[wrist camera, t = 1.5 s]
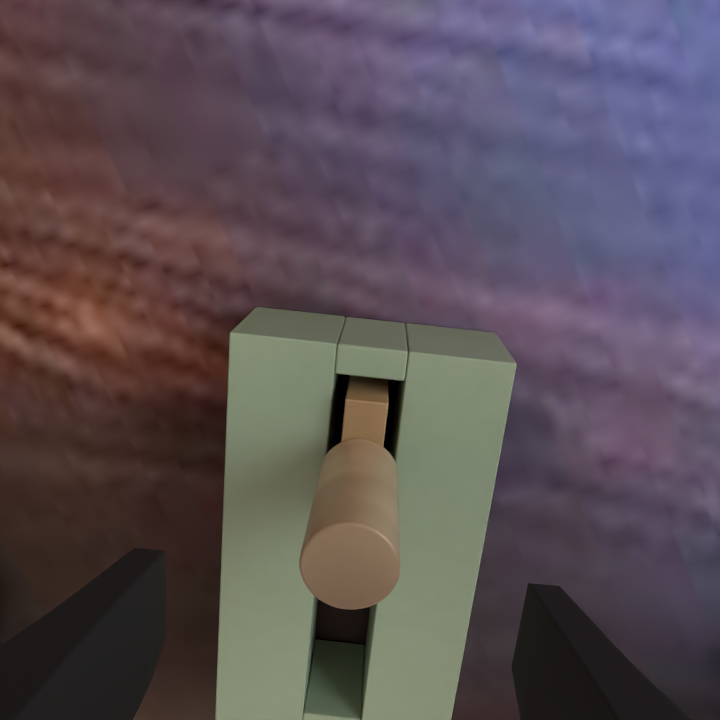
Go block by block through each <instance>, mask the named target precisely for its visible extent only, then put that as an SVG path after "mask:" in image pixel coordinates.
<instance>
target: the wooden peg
mask: <svg viewBox="0 0 720 720" xmlns="http://www.w3.org/2000/svg"><path fill="white" fill-rule="evenodd" d="M388 405H389V379H380V378H371V377H362V376H352V375H350V379H349V384H348V389H347V394H346V399H345V408H344V418H343V428H342V438H341V443H339V444H337V445H336V446H334V447H333V448H332V449H331V450H330V451H329V452H328V453H327V454H326V456H325V457H324V459H323V462H322V465H321V469H320V473H319V477H318V482H317V486H316V490H315V494H314V499H313V503H312V507H311V511H310V515H309V520H308V524H307V528H306V532H305V537H304V541H303V545H302V549H301V554H300V559H299V568H300V573H301V576H302V579H303V581H304V583H305V585H306V587H307V588H308V589H309V591H310V592H311V593H312V594H313V595H314V596H315V597H316V598H318V599H319V600H321V601H322V602H324V603H326V604H328V605H330V606H333V607H336V608H341V609H349V610H354V609H363V608H367V607H370V606H372V605H375V604H377V603H379V602H380V601H382V600H383V599H384V598H386V597H387V596H388V595H389V594H390V592H391V591H392V590H393V589H394V587H395V585H396V583H397V581H398V579H399V575H400V534H399V500H398V471H397V466H396V463H395V461H394V459H393V457H392V456H391V454H390V453H389V452H388V451H387V450H386V449H385V448H384V447H383V446H384V438H385V430H386V421H387V413H388Z"/></svg>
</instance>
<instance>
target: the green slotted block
mask: <svg viewBox="0 0 720 720" xmlns="http://www.w3.org/2000/svg"><path fill="white" fill-rule="evenodd" d="M516 366H517V364H516V362H515V361H514V359H513V358H512V356H511V355H510V353H509V352H508V350H507V349H506V348H505V346H504V345H503V343H502V342H501V340H500V339H499V337H498V336H497V334H496V333H494V332H485V331H476V330H466V329H457V328H448V327H439V326H429V325H420V324H411V323H406V324H404V323H399V322H390V321H381V320H372V319H362V318H353V317H346V319H345V317H344V316H337V315H328V314H318V313H309V312H300V311H291V310H281V309H272V308H263V307H256V308H255V309H254V310H253V311H252V312H251V313H250V314H249V315H248V316H247V317H246V318H244V319H243V320H242V321H241V322H240V323H239V324H238V325H237V326H236V327H235V328H234V329H233V330H232V331H231V332H230V339H229V366H228V392H227V419H226V446H225V473H224V499H223V526H222V553H221V580H220V606H219V633H218V660H217V687H216V713H215V720H451V718H452V712H453V707H454V702H455V696H456V691H457V685H458V680H459V675H460V669H461V664H462V658H463V653H464V647H465V642H466V637H467V631H468V626H469V620H470V615H471V610H472V604H473V599H474V593H475V588H476V582H477V577H478V572H479V566H480V561H481V555H482V550H483V545H484V539H485V534H486V528H487V523H488V517H489V512H490V507H491V501H492V496H493V490H494V485H495V480H496V474H497V469H498V463H499V458H500V452H501V447H502V442H503V436H504V431H505V425H506V420H507V415H508V409H509V404H510V398H511V393H512V387H513V382H514V377H515V371H516ZM340 374H343V375H352V376H362V377H371V378H380V379H389V380H398V388H397V396H396V404H395V412H394V420H393V428H392V436H391V444H390V452H389V453H390V454H391V456H392V457H393V459H394V461H395V463H396V466H397V471H398V500H399V534H400V575H399V579H398V581H397V583H396V585H395V587H394V589H393V590H392V591H391V592H390V594H389V595H388V596H387V597H386V598H384V599H383V600H382V601H380V602H379V603H377V604H375V605H372V606H370V611H369V619H368V627H367V635H366V643H365V645H361V644H353V643H344V642H335V641H327V640H318V639H316V640H315V633H316V622H317V612H318V601H319V599H318V598H316V597H315V596H314V595H313V594H312V593H311V592H310V591H309V589H308V588H307V587H306V585H305V583H304V581H303V579H302V576H301V573H300V568H299V559H300V554H301V549H302V545H303V541H304V537H305V532H306V528H307V524H308V520H309V515H310V511H311V507H312V503H313V499H314V494H315V490H316V486H317V482H318V477H319V473H320V469H321V465H322V462H323V459H324V457H325V456H326V454H327V453H328V452H329V451H330V450H331V449H332V448H333V443H334V432H335V422H336V411H337V401H338V390H339V380H340Z"/></svg>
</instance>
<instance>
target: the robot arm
mask: <svg viewBox="0 0 720 720" xmlns="http://www.w3.org/2000/svg"><path fill="white" fill-rule="evenodd" d="M165 638H166V577H165V551H162V550H151V549H140V548H134V549H133V550H131V551H130V552H129V553H127V554H126V555H125V556H123V557H122V558H121V559H119V560H118V561H117V562H115V563H114V564H113V565H112V566H110V567H109V568H108V569H106V570H105V571H104V572H102V573H101V574H100V575H99V576H97V577H96V578H95V579H93V580H92V581H91V582H89V583H88V584H87V585H86V586H84V587H83V588H82V589H80V590H79V591H78V592H76V593H75V594H74V595H72V596H71V597H70V598H68V599H67V600H66V601H64V602H63V603H61V604H60V605H59V606H57V607H56V608H55V609H53V610H52V611H51V612H49V613H48V614H46V615H45V616H43V617H42V618H40V619H39V620H38V621H36V622H35V623H33V624H32V625H30V626H29V627H27V628H26V629H24V630H23V631H21V632H20V633H18V634H17V635H16V636H14V637H13V638H11V639H10V640H8V641H7V642H5V643H4V644H2V645H1V646H0V720H133V718H134V716H135V714H136V712H137V710H138V708H139V706H140V704H141V702H142V700H143V697H144V695H145V693H146V691H147V689H148V687H149V684H150V681H151V679H152V676H153V673H154V670H155V667H156V665H157V662H158V659H159V656H160V653H161V650H162V647H163V644H164V641H165ZM512 672H513V678H514V684H515V691H516V697H517V702H518V708H519V714H520V719H521V720H691V719H690V718H689V717H688V716H687V715H686V714H685V713H683V712H682V711H681V710H680V709H679V708H678V707H677V706H676V705H675V704H674V703H673V702H672V701H671V700H670V699H668V698H667V697H666V696H665V695H664V694H663V693H662V692H661V691H660V690H659V689H658V688H657V687H656V686H654V685H653V684H652V683H651V682H650V681H649V680H648V679H647V678H646V677H645V676H644V675H643V674H642V673H641V672H640V671H639V670H638V669H637V668H636V667H635V666H634V665H633V664H632V663H631V662H630V661H629V660H628V659H627V658H626V657H625V656H624V655H623V654H622V653H621V651H620V650H619V649H618V648H617V647H616V646H615V645H614V644H613V643H612V642H611V641H610V640H609V639H608V638H607V637H606V636H605V635H604V634H603V633H602V631H601V630H600V629H599V628H598V627H597V626H596V625H595V624H594V623H593V622H592V621H591V620H590V619H589V617H588V616H587V615H586V614H585V613H584V612H583V611H582V610H581V609H580V608H579V607H578V605H577V604H576V603H575V602H574V601H573V600H572V599H571V598H570V597H569V596H568V595H567V594H566V593H565V592H564V591H563V590H562V589H561V588H560V587H559V586H552V585H541V584H530V583H528V587H527V592H526V597H525V602H524V607H523V612H522V617H521V622H520V627H519V632H518V637H517V642H516V647H515V652H514V657H513V662H512Z"/></svg>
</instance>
